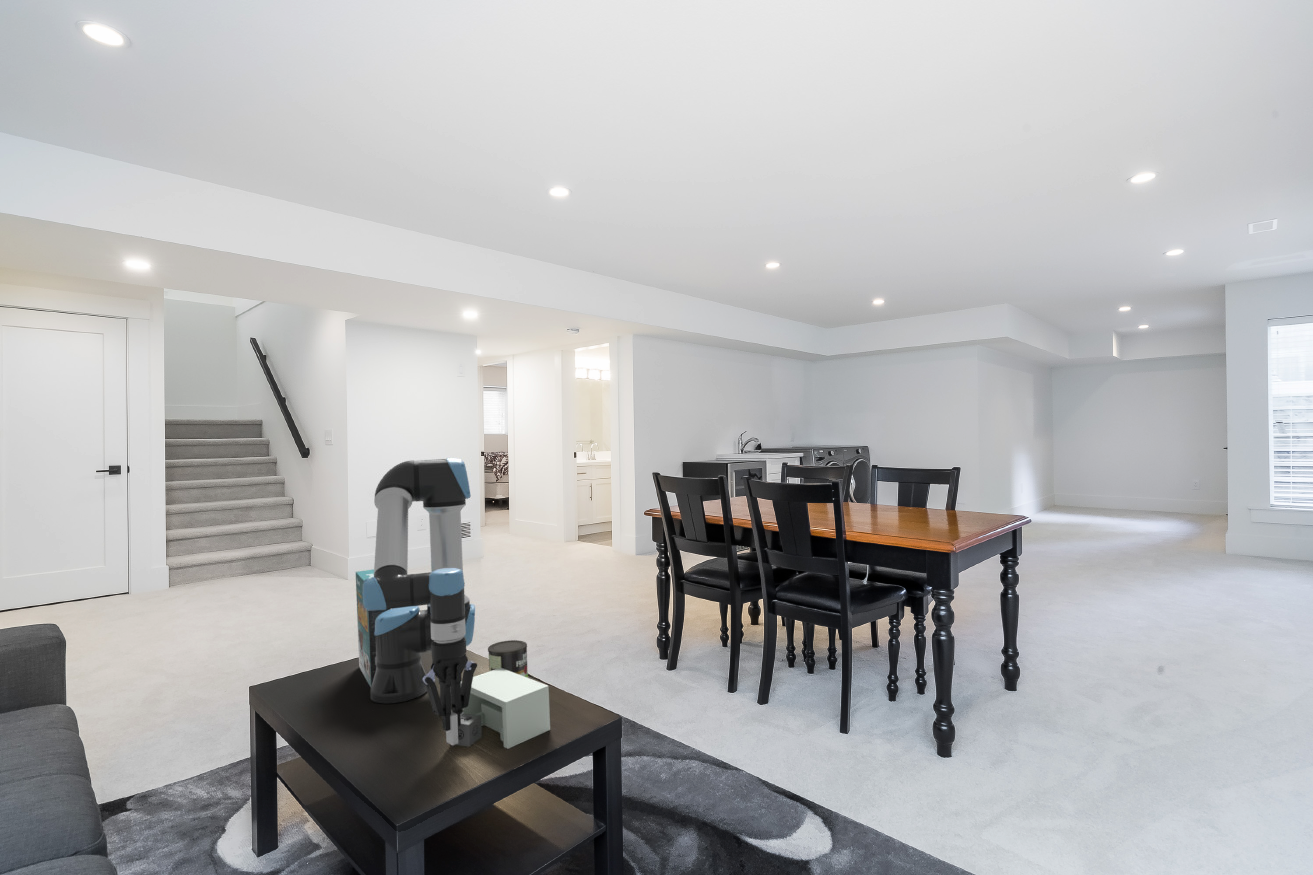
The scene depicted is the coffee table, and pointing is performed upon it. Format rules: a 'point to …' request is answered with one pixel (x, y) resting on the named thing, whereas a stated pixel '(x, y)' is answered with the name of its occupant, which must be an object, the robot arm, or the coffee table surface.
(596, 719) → the coffee table surface
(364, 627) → the cake mix box
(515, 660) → the coffee can
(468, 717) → the dice cube
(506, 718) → the shelf
